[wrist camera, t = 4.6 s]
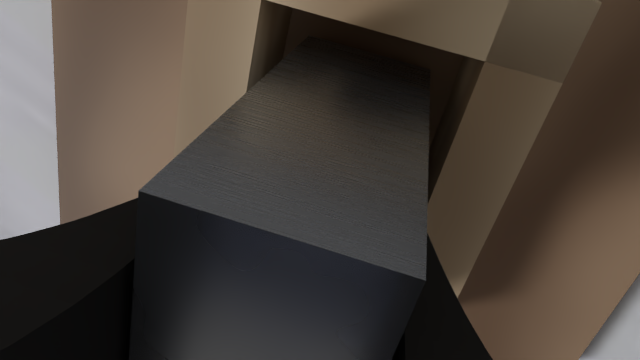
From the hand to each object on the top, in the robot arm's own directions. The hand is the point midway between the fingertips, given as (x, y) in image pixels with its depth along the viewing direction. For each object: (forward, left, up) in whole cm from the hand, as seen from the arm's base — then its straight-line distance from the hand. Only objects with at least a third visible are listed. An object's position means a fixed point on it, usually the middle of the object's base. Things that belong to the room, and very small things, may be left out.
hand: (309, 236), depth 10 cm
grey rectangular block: (0, 0, -4) cm, 4 cm away
